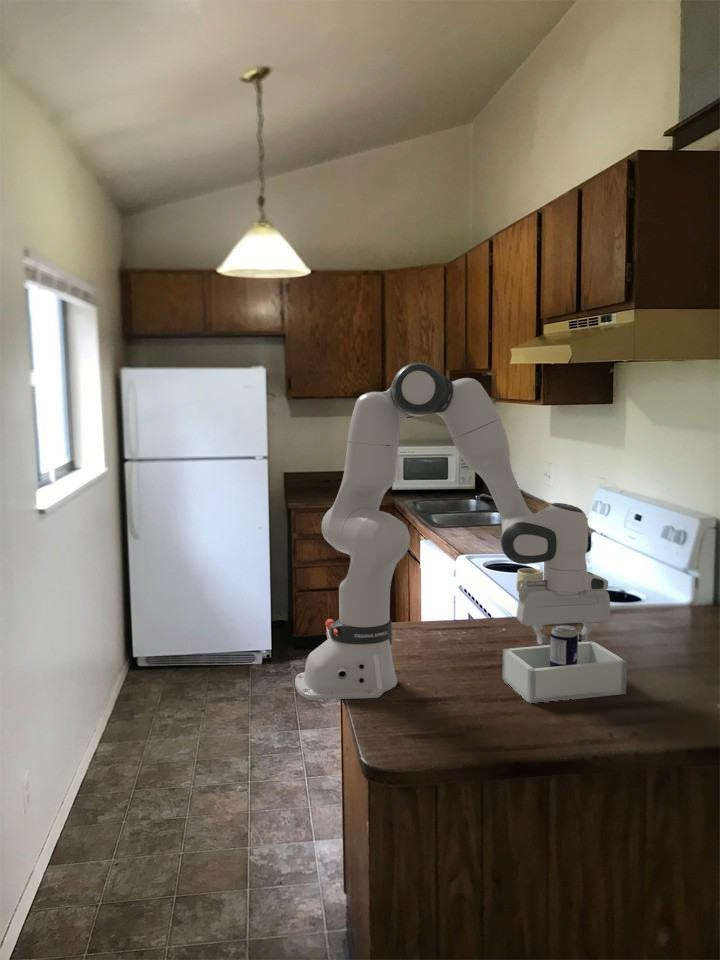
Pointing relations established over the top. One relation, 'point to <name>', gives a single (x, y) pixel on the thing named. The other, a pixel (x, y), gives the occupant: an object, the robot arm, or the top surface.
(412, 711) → the top surface
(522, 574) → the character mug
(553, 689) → the crate
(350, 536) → the robot arm
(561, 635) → the beverage can
